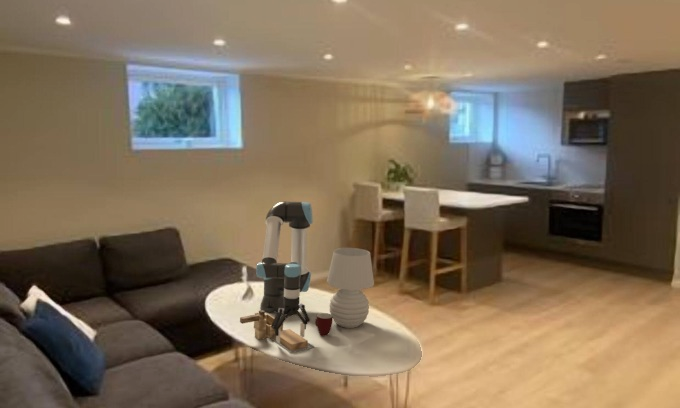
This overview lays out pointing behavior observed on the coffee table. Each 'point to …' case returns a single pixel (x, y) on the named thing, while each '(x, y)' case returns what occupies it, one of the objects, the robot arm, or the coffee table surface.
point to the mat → (293, 350)
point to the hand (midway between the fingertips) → (290, 338)
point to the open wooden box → (264, 327)
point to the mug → (324, 323)
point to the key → (252, 317)
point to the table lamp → (350, 285)
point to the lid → (292, 340)
